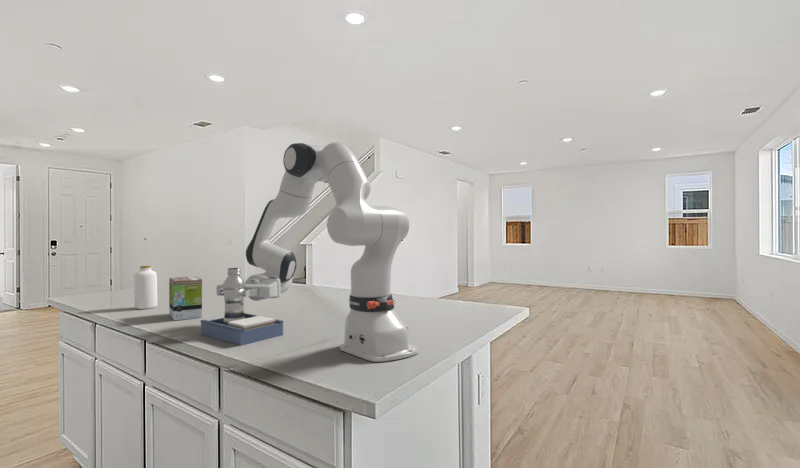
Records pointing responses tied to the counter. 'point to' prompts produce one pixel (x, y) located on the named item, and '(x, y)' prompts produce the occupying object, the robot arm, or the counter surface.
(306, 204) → the robot arm
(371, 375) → the counter surface
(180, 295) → the tea box
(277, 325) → the tote
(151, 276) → the potion bottle
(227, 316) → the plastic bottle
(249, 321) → the carton
